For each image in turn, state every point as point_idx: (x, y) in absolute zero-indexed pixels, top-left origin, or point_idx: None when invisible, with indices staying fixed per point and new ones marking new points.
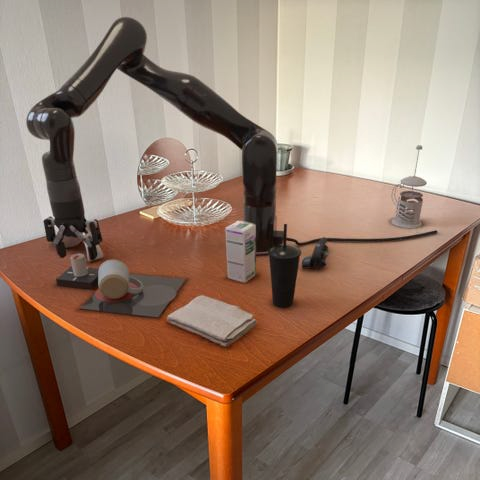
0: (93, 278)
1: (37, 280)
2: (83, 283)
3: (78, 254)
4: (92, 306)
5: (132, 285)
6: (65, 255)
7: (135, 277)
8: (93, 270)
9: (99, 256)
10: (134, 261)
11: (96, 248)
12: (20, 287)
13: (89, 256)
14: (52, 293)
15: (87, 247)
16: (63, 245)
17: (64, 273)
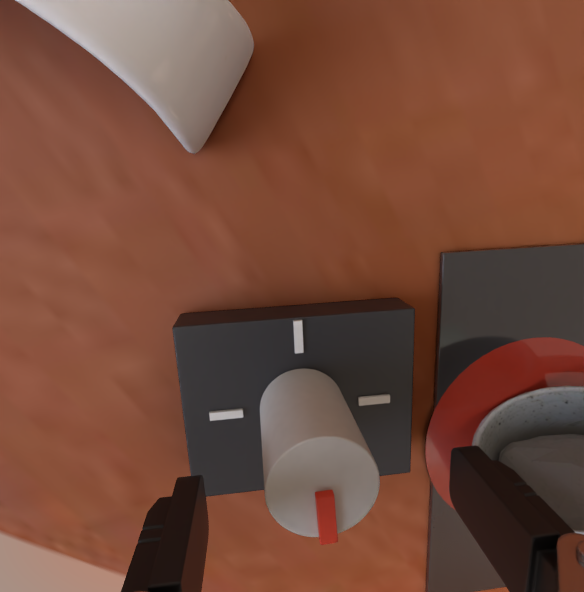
0: (402, 432)
1: (43, 453)
2: None
3: (311, 457)
4: (472, 571)
5: (580, 368)
6: (202, 489)
7: (569, 283)
8: (352, 345)
9: (241, 75)
10: (485, 50)
11: (555, 513)
12: (17, 538)
13: (469, 528)
14: (227, 533)
15: (165, 102)
16: (189, 572)
17: (198, 430)
